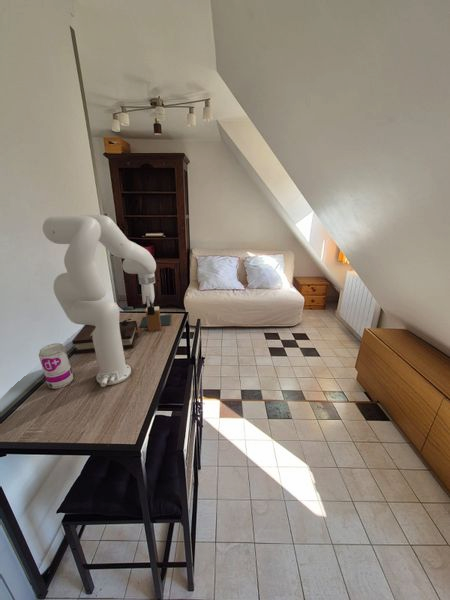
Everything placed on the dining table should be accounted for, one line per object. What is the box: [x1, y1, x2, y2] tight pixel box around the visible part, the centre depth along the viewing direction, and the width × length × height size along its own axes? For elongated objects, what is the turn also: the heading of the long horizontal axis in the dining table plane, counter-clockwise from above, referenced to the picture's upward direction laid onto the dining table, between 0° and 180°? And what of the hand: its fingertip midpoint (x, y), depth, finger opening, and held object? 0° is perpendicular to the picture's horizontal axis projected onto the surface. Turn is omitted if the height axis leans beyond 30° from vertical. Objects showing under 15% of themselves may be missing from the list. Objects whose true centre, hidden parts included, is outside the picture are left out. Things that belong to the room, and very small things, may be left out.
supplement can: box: [38, 342, 74, 390], centre depth 92 cm, size 8×8×15 cm
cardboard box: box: [145, 305, 162, 332], centre depth 135 cm, size 5×7×12 cm
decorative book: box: [71, 318, 142, 355], centre depth 122 cm, size 19×8×30 cm
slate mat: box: [139, 314, 171, 329], centre depth 146 cm, size 14×16×1 cm
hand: (151, 314), depth 128 cm, fingers closed
